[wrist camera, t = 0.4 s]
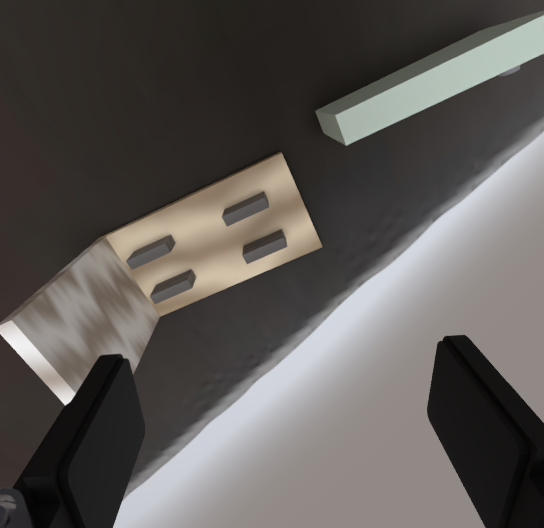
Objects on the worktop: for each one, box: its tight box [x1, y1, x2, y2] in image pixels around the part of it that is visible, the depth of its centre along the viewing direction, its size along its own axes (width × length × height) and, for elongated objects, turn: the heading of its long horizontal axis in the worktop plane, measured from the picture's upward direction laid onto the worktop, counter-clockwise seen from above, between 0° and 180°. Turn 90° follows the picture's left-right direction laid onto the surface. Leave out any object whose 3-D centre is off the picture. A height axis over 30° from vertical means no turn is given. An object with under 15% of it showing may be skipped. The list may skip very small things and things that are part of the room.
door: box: [315, 11, 544, 145], centre depth 34 cm, size 4×18×12 cm, turn 114°
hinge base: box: [0, 151, 322, 406], centre depth 37 cm, size 12×24×20 cm, turn 115°
